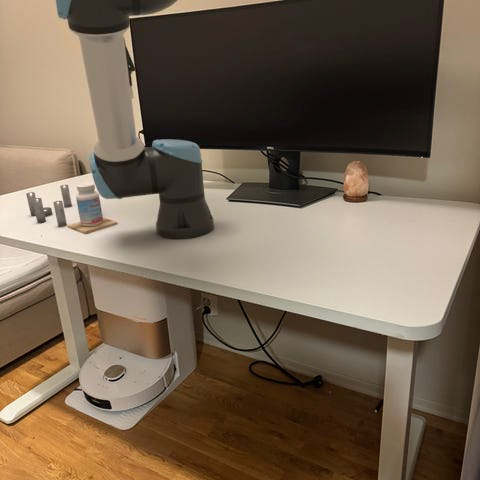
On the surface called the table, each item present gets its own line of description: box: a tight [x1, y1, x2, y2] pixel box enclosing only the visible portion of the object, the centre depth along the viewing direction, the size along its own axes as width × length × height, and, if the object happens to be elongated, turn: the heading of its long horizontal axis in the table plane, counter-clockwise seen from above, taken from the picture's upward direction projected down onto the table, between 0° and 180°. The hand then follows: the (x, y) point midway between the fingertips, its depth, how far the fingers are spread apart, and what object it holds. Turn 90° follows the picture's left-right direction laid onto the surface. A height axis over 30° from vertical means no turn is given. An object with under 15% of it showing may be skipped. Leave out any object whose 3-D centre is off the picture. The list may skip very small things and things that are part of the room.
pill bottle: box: [75, 182, 104, 226], centre depth 129 cm, size 6×6×11 cm
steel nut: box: [43, 206, 53, 218], centre depth 144 cm, size 4×4×2 cm
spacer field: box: [26, 184, 73, 228], centre depth 141 cm, size 20×17×7 cm
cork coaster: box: [66, 217, 119, 235], centre depth 131 cm, size 10×10×1 cm
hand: (115, 98), depth 138 cm, fingers open, 13 cm apart
